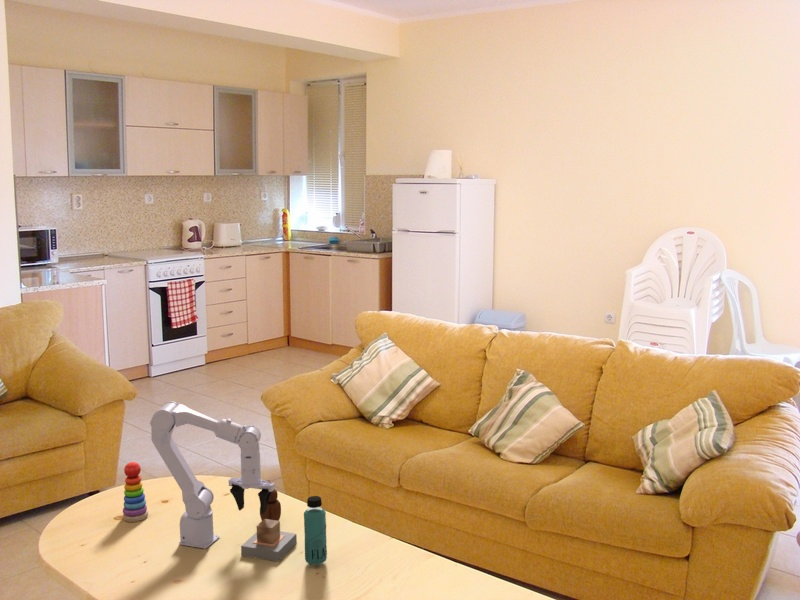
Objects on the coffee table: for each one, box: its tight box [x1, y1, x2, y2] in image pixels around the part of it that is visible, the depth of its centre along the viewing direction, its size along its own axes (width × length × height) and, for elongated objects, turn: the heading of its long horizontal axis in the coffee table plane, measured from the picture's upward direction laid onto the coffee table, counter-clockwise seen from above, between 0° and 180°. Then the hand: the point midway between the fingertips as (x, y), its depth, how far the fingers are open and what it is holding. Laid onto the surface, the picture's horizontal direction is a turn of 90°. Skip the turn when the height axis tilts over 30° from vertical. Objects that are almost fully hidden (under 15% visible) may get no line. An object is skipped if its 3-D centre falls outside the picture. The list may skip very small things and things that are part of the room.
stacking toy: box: [122, 461, 149, 523], centre depth 248 cm, size 8×8×19 cm
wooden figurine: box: [259, 480, 282, 522], centre depth 244 cm, size 7×6×15 cm
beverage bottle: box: [303, 495, 328, 566], centre depth 217 cm, size 6×7×20 cm
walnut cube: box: [256, 519, 281, 544], centre depth 227 cm, size 5×5×5 cm
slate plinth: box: [240, 530, 298, 563], centre depth 227 cm, size 12×12×3 cm
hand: (252, 510), depth 231 cm, fingers open, 7 cm apart
